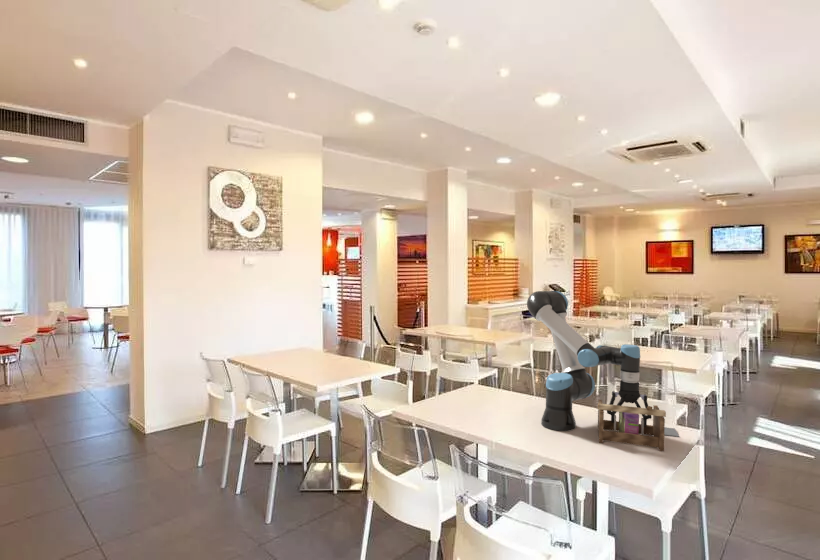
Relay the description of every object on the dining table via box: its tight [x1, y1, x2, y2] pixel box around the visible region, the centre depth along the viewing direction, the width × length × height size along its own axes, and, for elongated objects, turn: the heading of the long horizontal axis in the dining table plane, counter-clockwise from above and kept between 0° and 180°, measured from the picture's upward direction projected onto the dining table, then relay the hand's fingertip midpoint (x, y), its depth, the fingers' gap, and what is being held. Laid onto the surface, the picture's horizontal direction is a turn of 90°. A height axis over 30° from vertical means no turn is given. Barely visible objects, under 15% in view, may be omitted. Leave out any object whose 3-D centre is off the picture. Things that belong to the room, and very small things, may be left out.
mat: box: [664, 426, 680, 438], centre depth 211 cm, size 10×11×1 cm
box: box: [617, 412, 640, 434], centre depth 203 cm, size 10×6×12 cm, turn 168°
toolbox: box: [597, 399, 666, 452], centre depth 201 cm, size 24×20×13 cm
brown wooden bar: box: [597, 402, 667, 418], centre depth 195 cm, size 26×3×3 cm, turn 70°
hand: (628, 432), depth 203 cm, fingers open, 10 cm apart
